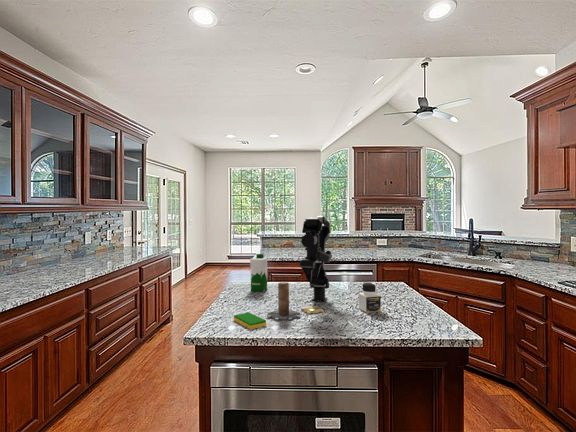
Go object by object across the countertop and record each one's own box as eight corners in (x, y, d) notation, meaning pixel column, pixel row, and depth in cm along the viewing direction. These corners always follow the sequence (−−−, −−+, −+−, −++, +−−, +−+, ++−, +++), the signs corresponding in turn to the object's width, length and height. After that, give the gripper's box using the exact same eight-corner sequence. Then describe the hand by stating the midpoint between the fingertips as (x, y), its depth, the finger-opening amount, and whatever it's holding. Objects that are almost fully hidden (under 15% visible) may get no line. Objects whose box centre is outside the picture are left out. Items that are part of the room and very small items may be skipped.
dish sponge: (248, 317, 141) (248, 312, 140) (266, 326, 129) (266, 320, 129) (233, 321, 136) (233, 315, 136) (250, 330, 125) (250, 324, 125)
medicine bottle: (366, 313, 144) (366, 285, 144) (358, 308, 151) (358, 282, 151) (381, 311, 146) (380, 284, 146) (372, 307, 153) (372, 281, 153)
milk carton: (269, 288, 191) (268, 253, 191) (263, 292, 182) (262, 256, 182) (254, 288, 193) (254, 253, 193) (248, 291, 185) (248, 255, 185)
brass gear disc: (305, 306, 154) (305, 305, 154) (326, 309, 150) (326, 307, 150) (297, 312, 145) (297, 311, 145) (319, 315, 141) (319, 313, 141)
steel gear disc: (275, 309, 151) (275, 307, 151) (305, 312, 145) (305, 311, 145) (260, 318, 137) (260, 316, 137) (292, 323, 132) (292, 321, 132)
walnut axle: (286, 311, 144) (285, 281, 144) (291, 314, 140) (290, 283, 140) (276, 313, 142) (276, 282, 142) (281, 316, 138) (281, 284, 138)
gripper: (323, 248, 140) (323, 285, 140) (335, 244, 157) (335, 277, 157) (298, 247, 144) (299, 283, 144) (313, 243, 161) (313, 275, 161)
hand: (313, 279), depth 152 cm, fingers open, 9 cm apart
